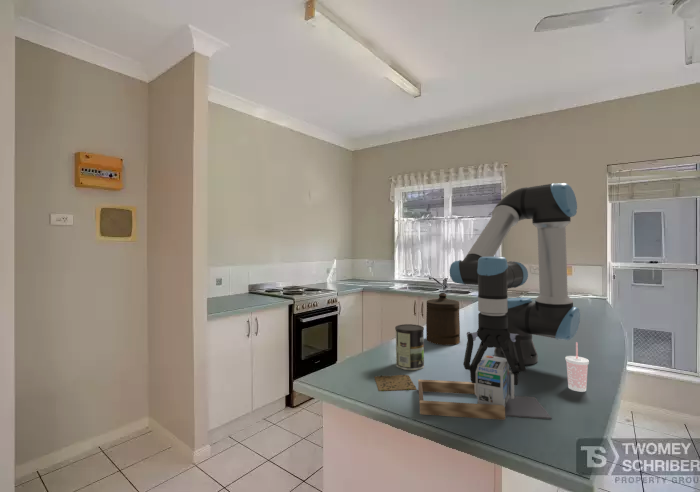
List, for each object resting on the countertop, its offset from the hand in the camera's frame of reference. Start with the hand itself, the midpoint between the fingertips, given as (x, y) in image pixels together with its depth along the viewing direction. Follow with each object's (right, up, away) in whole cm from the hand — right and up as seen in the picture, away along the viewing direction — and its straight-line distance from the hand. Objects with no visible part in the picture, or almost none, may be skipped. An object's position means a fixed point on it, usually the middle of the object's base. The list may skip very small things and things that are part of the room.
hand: (493, 395), depth 96 cm
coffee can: (-18, -3, +32) cm, 37 cm away
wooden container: (+3, -3, +64) cm, 64 cm away
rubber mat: (+7, -3, -1) cm, 7 cm away
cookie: (-25, -4, +16) cm, 30 cm away
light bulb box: (0, -2, 0) cm, 2 cm away
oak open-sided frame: (-10, -3, +1) cm, 10 cm away
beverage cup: (+29, -2, +10) cm, 31 cm away
